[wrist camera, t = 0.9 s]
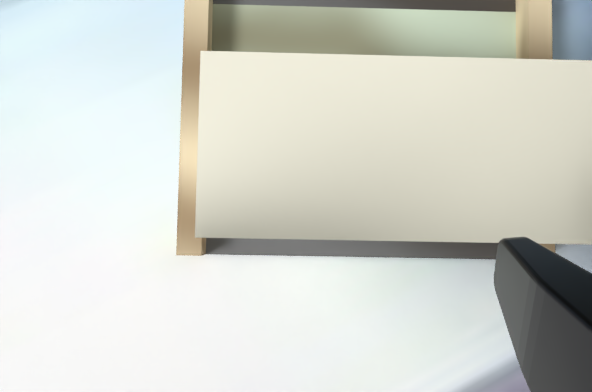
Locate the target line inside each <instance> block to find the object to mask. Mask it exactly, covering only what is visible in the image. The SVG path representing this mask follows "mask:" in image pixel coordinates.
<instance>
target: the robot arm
mask: <svg viewBox="0 0 592 392" xmlns="http://www.w3.org/2000/svg"><path fill="white" fill-rule="evenodd" d="M494 286H495V291H496V294H497V297H498V300H499V303H500V306H501V309H502V313H503V316H504V319H505V322H506V325H507V328H508V331H509V334H510V337H511V341H512V344H513V347H514V350H515V353H516V356H517V359H518V362H519V365H520V368H521V370H522V373H523V375H524V378H525V380H526V382H527V385H528V387H529V389H530V391H531V392H592V273H590V272H588V271H586V270H584V269H583V268H581V267H579V266H577V265H576V264H574V263H572V262H570V261H568V260H567V259H565V258H563V257H561V256H560V255H558V254H556V253H554V252H552V251H551V250H549V249H547V248H545V247H544V246H542V245H540V244H538V243H536V242H535V241H533V240H531V239H529V238H527V237H512V238H503V239H501V240H500V241H499V244H498V247H497V255H496V263H495V272H494Z"/></svg>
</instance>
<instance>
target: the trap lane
mask: <svg viewBox="0 0 592 392" xmlns="http://www.w3.org/2000/svg"><path fill="white" fill-rule="evenodd" d="M200 51H231V52H271V53H311V54H351V55H391V56H431V57H471V58H512V59H552V60H553V58H552V0H185V6H184V37H183V67H182V98H181V129H180V159H179V190H178V220H177V251H176V255H196V256H201V255H204V254H229V255H287V256H346V257H404V258H463V259H496V255H497V247H498V244H499V243H475V242H419V241H362V240H306V239H250V238H195V216H196V183H197V150H198V117H199V84H200ZM540 245H542V246H544V247H545V248H547V249H549V250H551V251H552V252H554V253H555V244H540Z"/></svg>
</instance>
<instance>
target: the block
mask: <svg viewBox="0 0 592 392" xmlns="http://www.w3.org/2000/svg"><path fill="white" fill-rule="evenodd" d="M512 237H527V238H529V239H531V240H533V241H535V242H536V243H538V244H588V245H592V60H552V59H512V58H471V57H431V56H391V55H351V54H311V53H271V52H231V51H200V84H199V117H198V150H197V183H196V216H195V238H250V239H306V240H362V241H419V242H475V243H499V241H500V240H501V239H503V238H512Z"/></svg>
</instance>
